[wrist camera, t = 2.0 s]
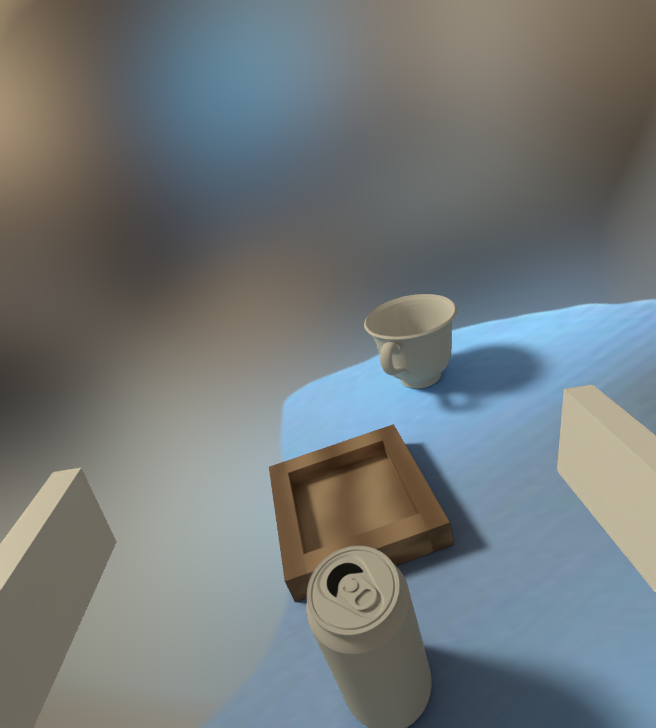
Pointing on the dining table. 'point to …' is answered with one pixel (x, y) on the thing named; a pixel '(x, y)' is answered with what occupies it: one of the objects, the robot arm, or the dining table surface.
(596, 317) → the dining table surface
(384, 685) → the beverage can
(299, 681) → the dining table surface
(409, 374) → the teacup
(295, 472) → the tray
